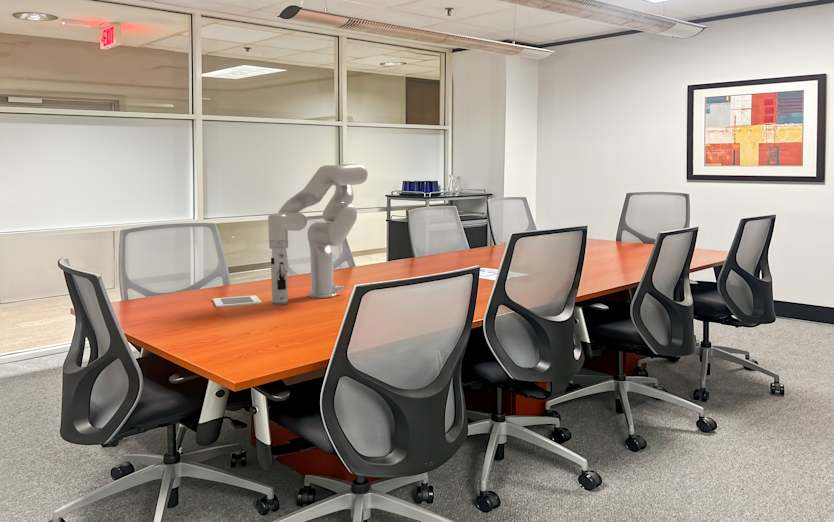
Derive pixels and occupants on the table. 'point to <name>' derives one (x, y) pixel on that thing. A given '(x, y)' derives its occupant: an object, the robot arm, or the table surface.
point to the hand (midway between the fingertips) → (280, 287)
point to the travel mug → (277, 295)
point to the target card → (236, 301)
